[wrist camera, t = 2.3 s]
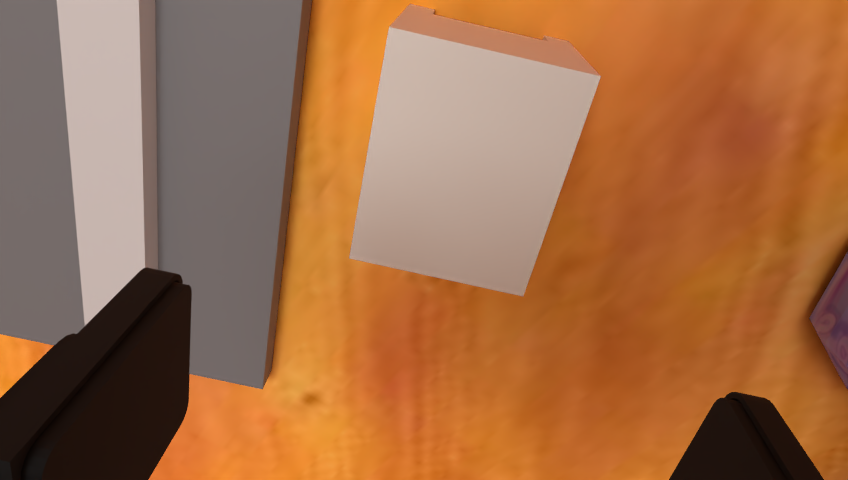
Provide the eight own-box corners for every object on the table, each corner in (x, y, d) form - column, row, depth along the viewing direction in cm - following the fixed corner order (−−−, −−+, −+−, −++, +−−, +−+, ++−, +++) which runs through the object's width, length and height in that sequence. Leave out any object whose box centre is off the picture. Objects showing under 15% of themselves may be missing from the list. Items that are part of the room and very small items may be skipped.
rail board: (327, -140, 21) (308, -149, 18) (271, 370, 32) (255, 405, 29) (-69, -235, 20) (-142, -259, 18) (16, 316, 31) (-21, 347, 29)
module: (568, 41, 23) (601, 76, 17) (512, 218, 27) (523, 296, 21) (409, 3, 23) (389, 26, 17) (375, 188, 26) (349, 258, 21)
